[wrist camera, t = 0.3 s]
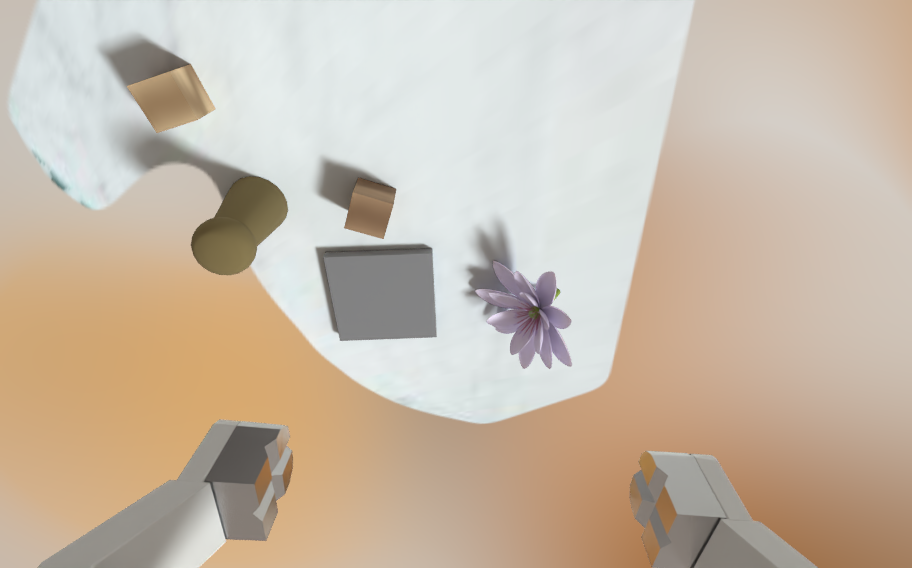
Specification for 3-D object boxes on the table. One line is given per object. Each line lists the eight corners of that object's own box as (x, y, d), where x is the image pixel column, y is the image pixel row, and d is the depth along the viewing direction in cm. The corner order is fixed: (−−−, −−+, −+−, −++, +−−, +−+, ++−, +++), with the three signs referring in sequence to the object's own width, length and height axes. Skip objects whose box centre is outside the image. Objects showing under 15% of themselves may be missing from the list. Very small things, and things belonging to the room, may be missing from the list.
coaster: (325, 251, 52) (323, 257, 51) (432, 248, 52) (432, 253, 51) (341, 334, 58) (340, 340, 57) (436, 331, 59) (436, 337, 58)
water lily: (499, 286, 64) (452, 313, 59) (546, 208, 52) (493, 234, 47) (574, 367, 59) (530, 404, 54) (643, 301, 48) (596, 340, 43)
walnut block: (358, 177, 47) (352, 192, 44) (396, 188, 48) (393, 204, 45) (350, 211, 49) (344, 228, 46) (386, 221, 50) (383, 239, 47)
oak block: (151, 77, 41) (126, 86, 38) (190, 63, 41) (169, 71, 38) (178, 121, 44) (156, 133, 40) (215, 108, 43) (197, 119, 40)
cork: (279, 174, 47) (241, 221, 38) (294, 227, 50) (262, 283, 41) (219, 178, 47) (167, 227, 38) (238, 231, 50) (194, 288, 41)
